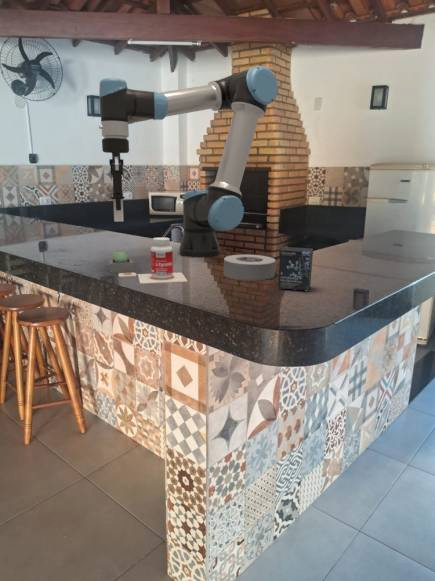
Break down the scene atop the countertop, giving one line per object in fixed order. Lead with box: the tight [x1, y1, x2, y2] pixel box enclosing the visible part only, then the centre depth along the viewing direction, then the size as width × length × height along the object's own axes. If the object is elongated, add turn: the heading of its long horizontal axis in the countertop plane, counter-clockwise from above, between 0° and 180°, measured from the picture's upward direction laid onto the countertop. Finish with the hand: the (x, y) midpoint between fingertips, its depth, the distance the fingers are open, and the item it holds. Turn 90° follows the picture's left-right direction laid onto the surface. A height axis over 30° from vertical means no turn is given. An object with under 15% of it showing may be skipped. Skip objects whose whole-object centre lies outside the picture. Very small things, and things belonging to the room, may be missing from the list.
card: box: [118, 272, 137, 278], centre depth 130 cm, size 5×4×1 cm
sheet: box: [137, 272, 188, 285], centre depth 126 cm, size 13×11×1 cm
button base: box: [108, 258, 135, 274], centre depth 135 cm, size 7×7×3 cm
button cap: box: [113, 250, 129, 263], centre depth 135 cm, size 4×4×4 cm
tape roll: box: [223, 254, 276, 282], centre depth 131 cm, size 15×15×5 cm
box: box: [277, 246, 314, 291], centre depth 115 cm, size 8×6×11 cm
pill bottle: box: [150, 237, 174, 279], centre depth 125 cm, size 6×6×11 cm
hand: (118, 221), depth 132 cm, fingers closed
